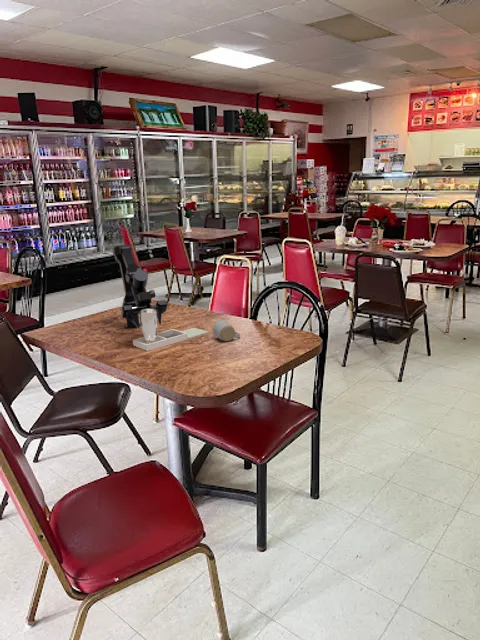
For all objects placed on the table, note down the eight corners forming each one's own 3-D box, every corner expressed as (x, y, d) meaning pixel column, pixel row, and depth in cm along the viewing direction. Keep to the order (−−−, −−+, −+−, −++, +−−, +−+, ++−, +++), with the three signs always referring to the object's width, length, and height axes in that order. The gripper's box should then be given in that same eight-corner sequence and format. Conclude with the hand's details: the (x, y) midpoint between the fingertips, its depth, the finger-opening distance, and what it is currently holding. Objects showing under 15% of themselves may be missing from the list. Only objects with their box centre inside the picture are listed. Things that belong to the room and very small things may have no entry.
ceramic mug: (220, 343, 199) (220, 325, 197) (212, 338, 206) (212, 321, 204) (243, 339, 203) (243, 322, 201) (235, 334, 210) (234, 317, 208)
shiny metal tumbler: (161, 342, 204) (158, 308, 200) (157, 347, 197) (153, 312, 193) (145, 342, 204) (141, 308, 200) (140, 348, 198) (136, 312, 194)
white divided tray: (147, 351, 193) (146, 345, 193) (133, 345, 201) (132, 340, 200) (208, 332, 214) (208, 327, 214) (194, 328, 222) (193, 323, 221)
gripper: (119, 286, 195) (128, 318, 188) (164, 281, 202) (174, 312, 195) (117, 301, 204) (126, 333, 197) (160, 296, 211) (170, 326, 204)
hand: (149, 325), depth 198 cm, fingers open, 9 cm apart
